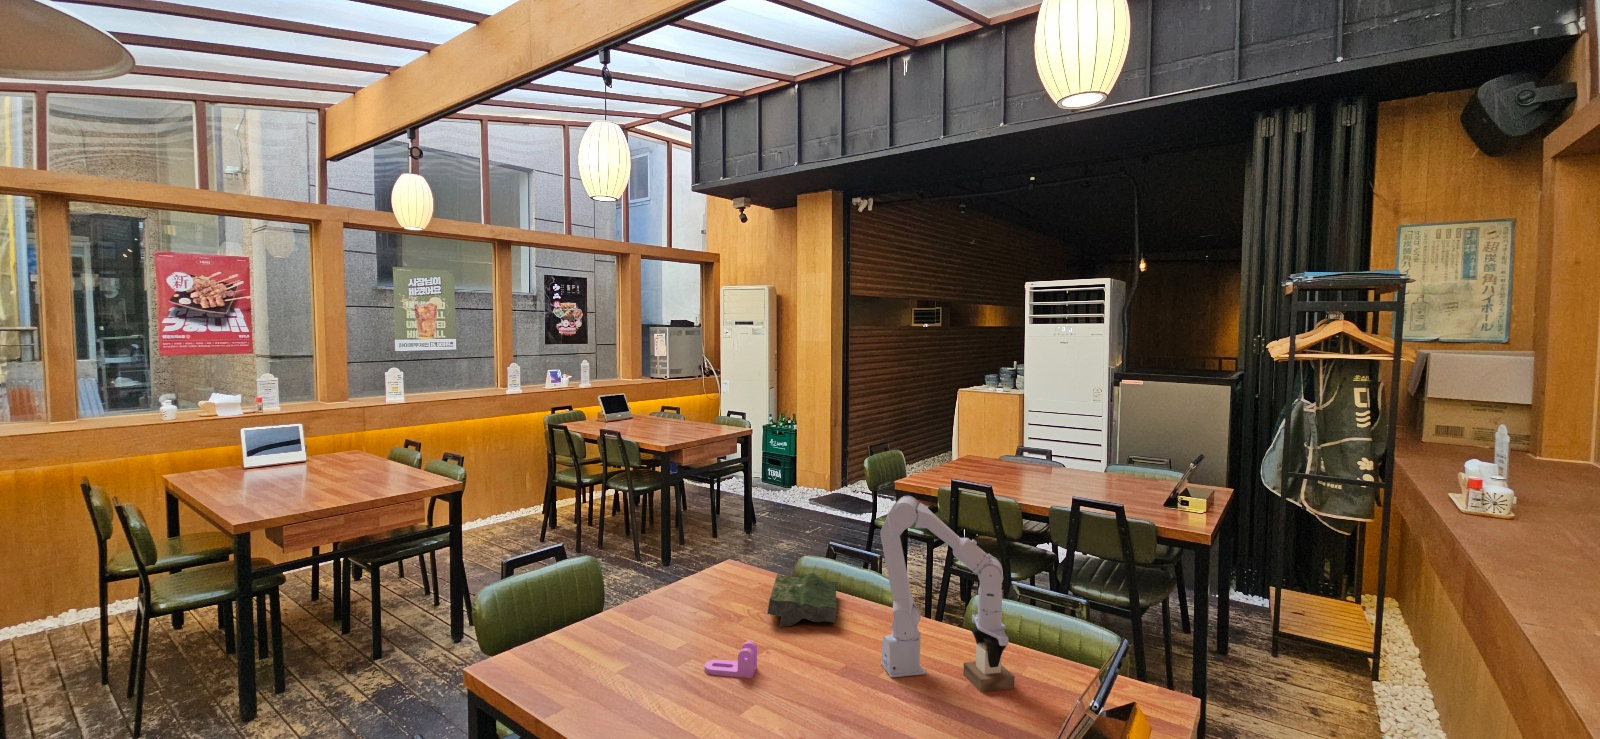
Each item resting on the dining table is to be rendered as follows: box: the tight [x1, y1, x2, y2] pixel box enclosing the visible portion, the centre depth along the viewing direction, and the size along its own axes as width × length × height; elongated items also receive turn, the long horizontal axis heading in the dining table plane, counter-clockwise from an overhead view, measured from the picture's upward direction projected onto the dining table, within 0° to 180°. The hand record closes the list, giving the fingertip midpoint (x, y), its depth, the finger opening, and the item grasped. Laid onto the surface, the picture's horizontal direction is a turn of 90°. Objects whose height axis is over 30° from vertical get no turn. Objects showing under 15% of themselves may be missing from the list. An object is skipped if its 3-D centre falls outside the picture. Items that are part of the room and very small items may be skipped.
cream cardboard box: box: [975, 642, 1002, 674], centre depth 164 cm, size 4×4×6 cm
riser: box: [962, 660, 1016, 693], centre depth 164 cm, size 9×9×3 cm
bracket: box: [704, 640, 758, 679], centre depth 167 cm, size 13×6×7 cm, turn 82°
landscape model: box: [766, 572, 837, 628], centre depth 208 cm, size 26×20×10 cm
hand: (988, 662), depth 164 cm, fingers closed on cream cardboard box, 4 cm apart
